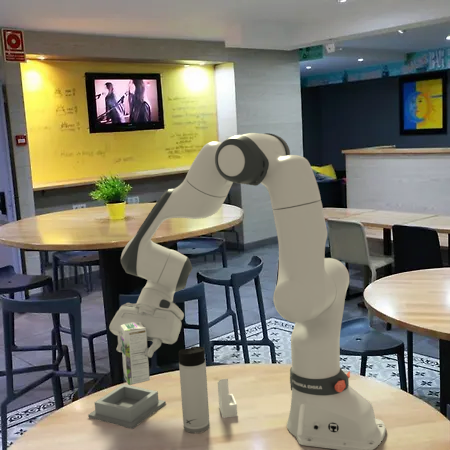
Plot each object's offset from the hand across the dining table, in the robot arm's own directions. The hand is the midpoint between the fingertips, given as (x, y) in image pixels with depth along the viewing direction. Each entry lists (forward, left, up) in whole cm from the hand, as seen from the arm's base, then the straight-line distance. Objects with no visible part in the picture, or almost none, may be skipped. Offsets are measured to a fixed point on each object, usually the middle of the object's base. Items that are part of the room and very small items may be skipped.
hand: (133, 353), depth 152 cm
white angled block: (-23, -7, -15) cm, 28 cm away
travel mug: (-20, +3, -14) cm, 25 cm away
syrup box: (0, -1, -7) cm, 7 cm away
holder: (+1, +3, -14) cm, 15 cm away
